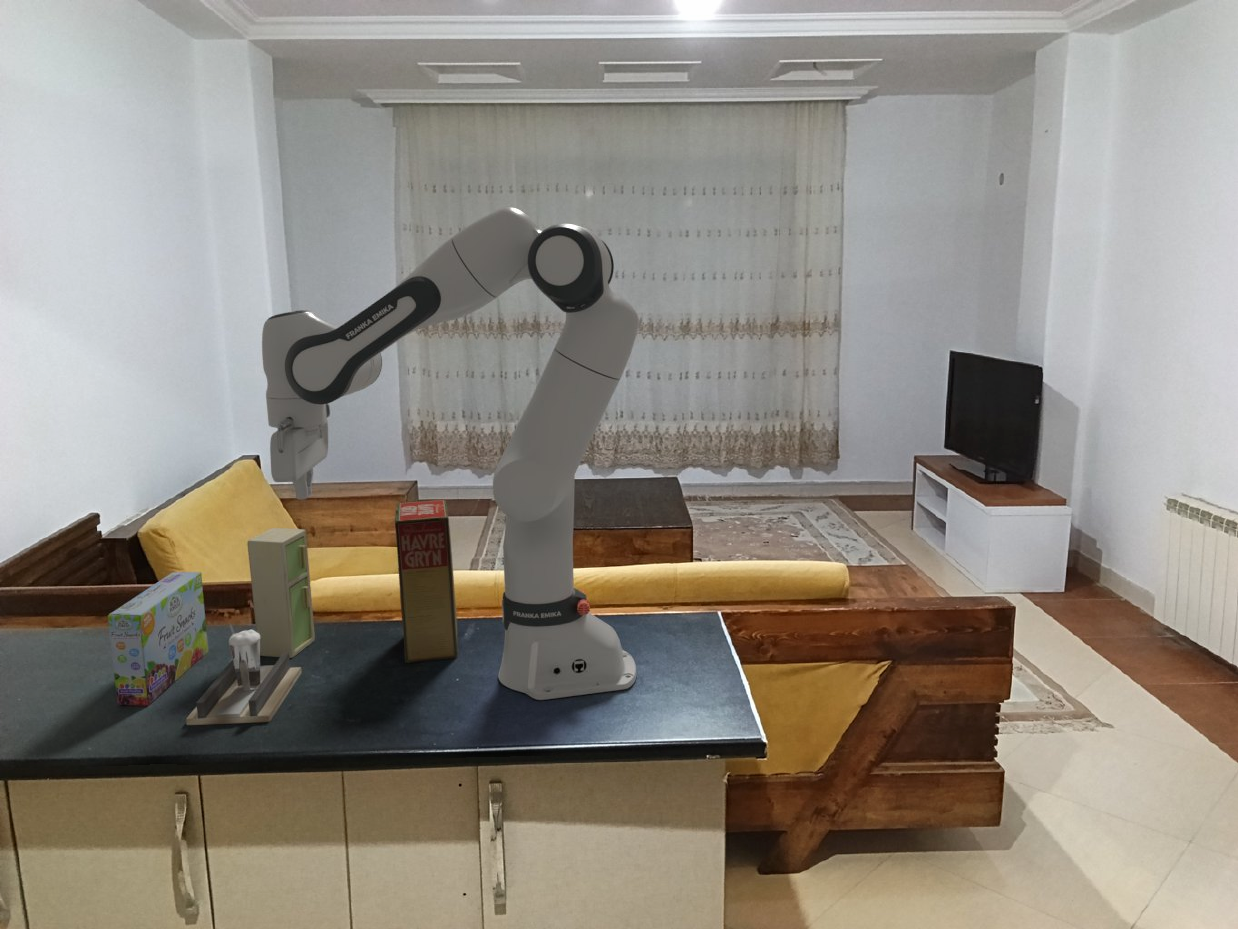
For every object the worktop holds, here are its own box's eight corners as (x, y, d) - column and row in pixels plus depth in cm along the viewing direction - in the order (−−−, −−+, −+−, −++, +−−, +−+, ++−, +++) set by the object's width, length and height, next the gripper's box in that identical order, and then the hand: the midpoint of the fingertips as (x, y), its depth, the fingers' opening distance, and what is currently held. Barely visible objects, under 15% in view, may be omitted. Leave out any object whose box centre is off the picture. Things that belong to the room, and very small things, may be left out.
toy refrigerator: (296, 659, 158) (285, 542, 154) (257, 656, 159) (245, 540, 155) (319, 641, 166) (309, 529, 161) (282, 638, 167) (272, 527, 163)
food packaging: (404, 633, 168) (395, 501, 163) (456, 629, 170) (449, 498, 165) (403, 663, 156) (393, 521, 150) (459, 657, 157) (451, 517, 152)
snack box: (152, 706, 141) (140, 614, 138) (116, 707, 141) (103, 615, 138) (211, 651, 162) (202, 569, 159) (179, 651, 162) (169, 570, 159)
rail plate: (301, 672, 152) (299, 653, 152) (269, 721, 136) (267, 699, 135) (227, 675, 152) (225, 655, 151) (186, 725, 135) (183, 703, 134)
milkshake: (248, 677, 147) (242, 618, 145) (271, 684, 145) (265, 624, 143) (224, 688, 144) (217, 628, 141) (247, 696, 141) (240, 634, 139)
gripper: (298, 423, 137) (306, 512, 140) (332, 404, 157) (338, 482, 160) (255, 424, 137) (264, 514, 140) (295, 404, 157) (301, 483, 160)
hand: (304, 497), depth 150 cm, fingers closed
